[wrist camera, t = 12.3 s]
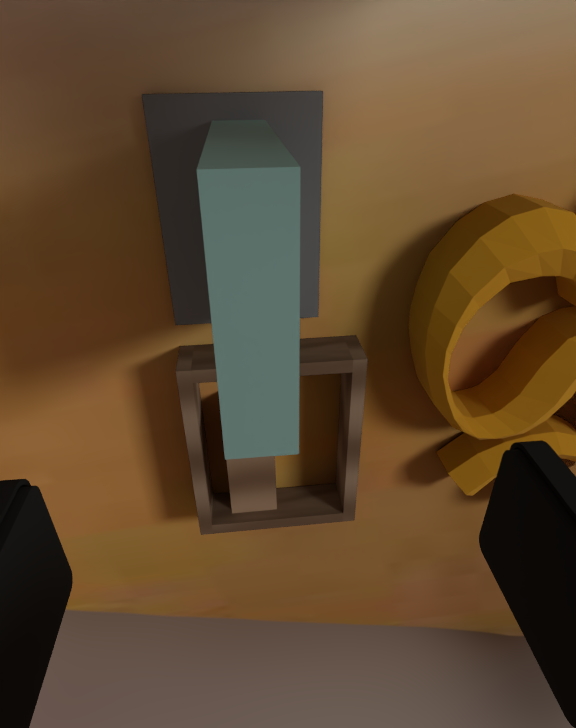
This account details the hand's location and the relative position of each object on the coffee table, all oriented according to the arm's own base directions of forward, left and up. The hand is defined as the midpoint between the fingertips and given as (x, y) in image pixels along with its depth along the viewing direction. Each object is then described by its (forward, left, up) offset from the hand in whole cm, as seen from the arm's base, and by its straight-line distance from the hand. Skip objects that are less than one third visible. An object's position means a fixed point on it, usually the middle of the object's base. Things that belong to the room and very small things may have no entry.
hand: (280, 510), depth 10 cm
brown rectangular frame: (+17, +1, -25) cm, 30 cm away
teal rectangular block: (0, 0, -24) cm, 24 cm away
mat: (0, 0, -25) cm, 25 cm away
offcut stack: (+19, -1, -25) cm, 31 cm away
